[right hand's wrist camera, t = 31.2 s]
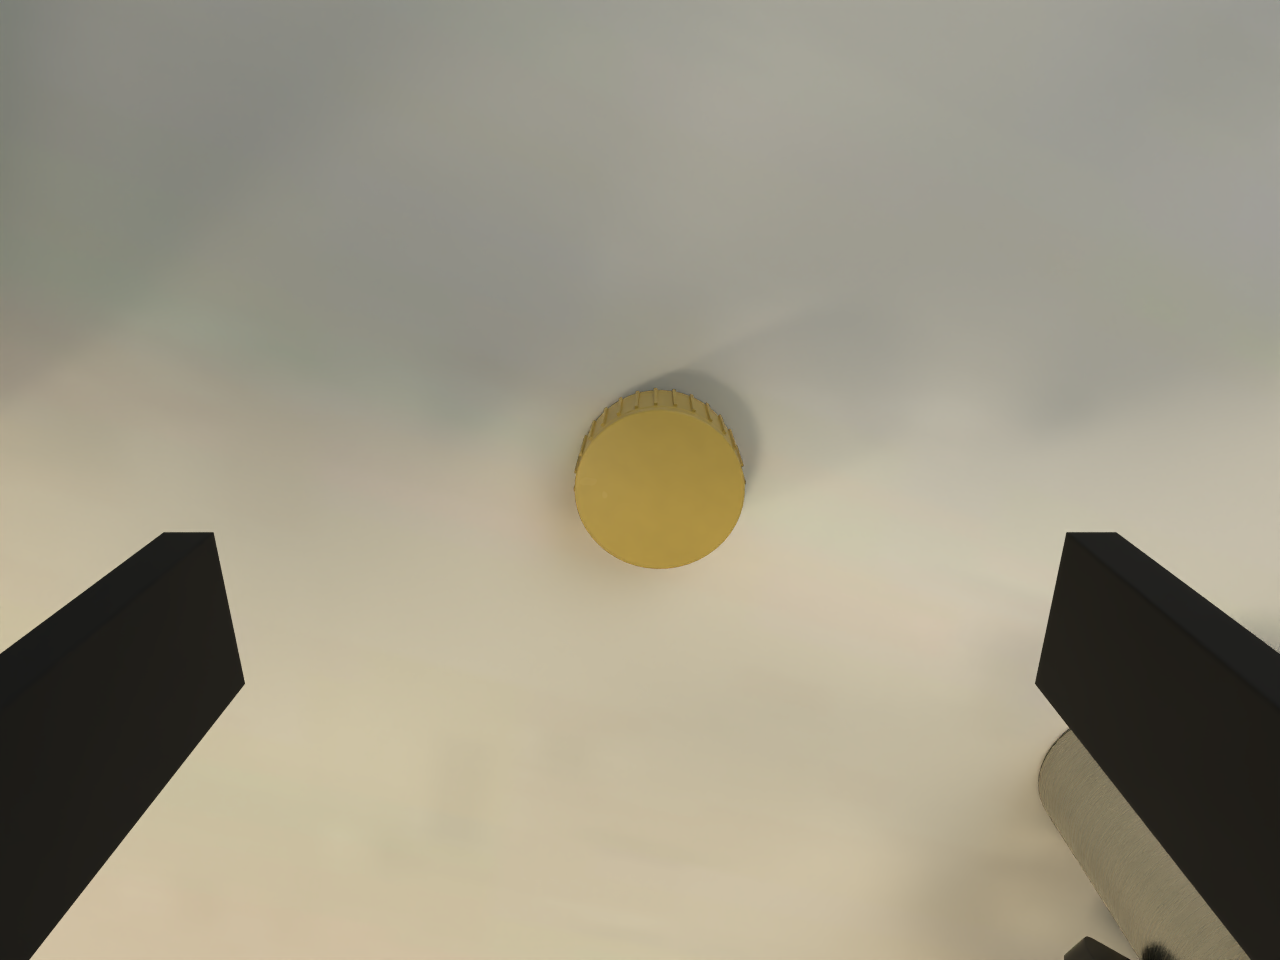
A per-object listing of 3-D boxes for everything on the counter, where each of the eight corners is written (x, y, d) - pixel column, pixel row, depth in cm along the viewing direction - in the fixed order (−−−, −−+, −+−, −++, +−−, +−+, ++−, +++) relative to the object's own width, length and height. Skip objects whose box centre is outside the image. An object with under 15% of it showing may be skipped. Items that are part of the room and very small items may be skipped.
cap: (603, 367, 20) (598, 386, 18) (760, 413, 20) (771, 436, 18) (562, 514, 21) (553, 545, 19) (709, 554, 21) (715, 589, 19)
